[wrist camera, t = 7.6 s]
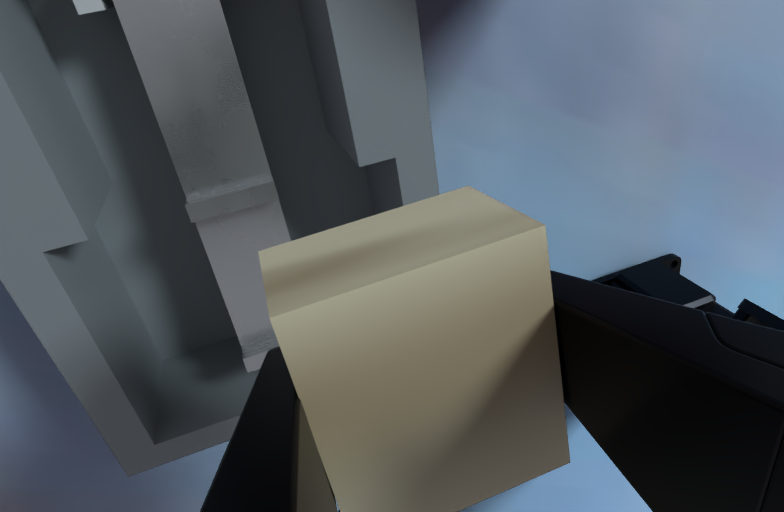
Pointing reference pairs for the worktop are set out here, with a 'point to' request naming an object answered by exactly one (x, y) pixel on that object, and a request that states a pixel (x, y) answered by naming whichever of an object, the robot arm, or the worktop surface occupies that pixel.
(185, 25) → the ejector lever
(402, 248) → the beige block
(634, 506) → the worktop surface
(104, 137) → the pocket board
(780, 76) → the worktop surface
